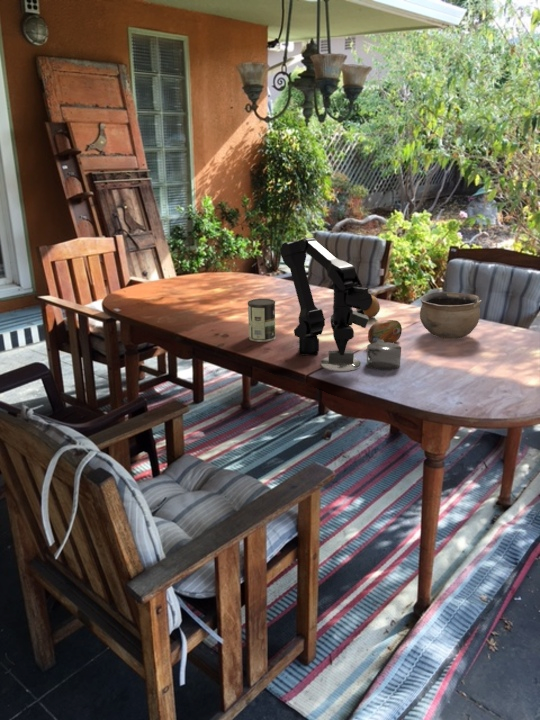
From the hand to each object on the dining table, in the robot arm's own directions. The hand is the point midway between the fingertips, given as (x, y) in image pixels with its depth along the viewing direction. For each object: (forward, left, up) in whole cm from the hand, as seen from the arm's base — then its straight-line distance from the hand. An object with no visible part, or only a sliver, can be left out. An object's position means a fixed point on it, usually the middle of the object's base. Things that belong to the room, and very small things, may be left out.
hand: (340, 350), depth 199 cm
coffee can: (-27, +29, -5) cm, 41 cm away
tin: (+18, +22, -5) cm, 29 cm away
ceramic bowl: (+43, +31, -5) cm, 53 cm away
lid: (0, 0, -5) cm, 5 cm away
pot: (+14, +2, -5) cm, 15 cm away
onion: (+16, +57, -5) cm, 60 cm away
